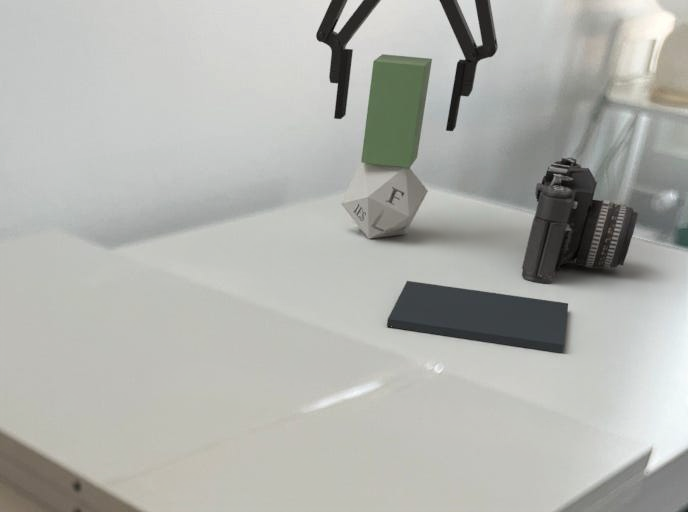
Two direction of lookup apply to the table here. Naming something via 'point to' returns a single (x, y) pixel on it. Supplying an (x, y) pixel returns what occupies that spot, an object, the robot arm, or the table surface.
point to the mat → (481, 316)
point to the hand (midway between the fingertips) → (394, 123)
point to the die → (383, 199)
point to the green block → (395, 110)
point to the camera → (575, 224)
